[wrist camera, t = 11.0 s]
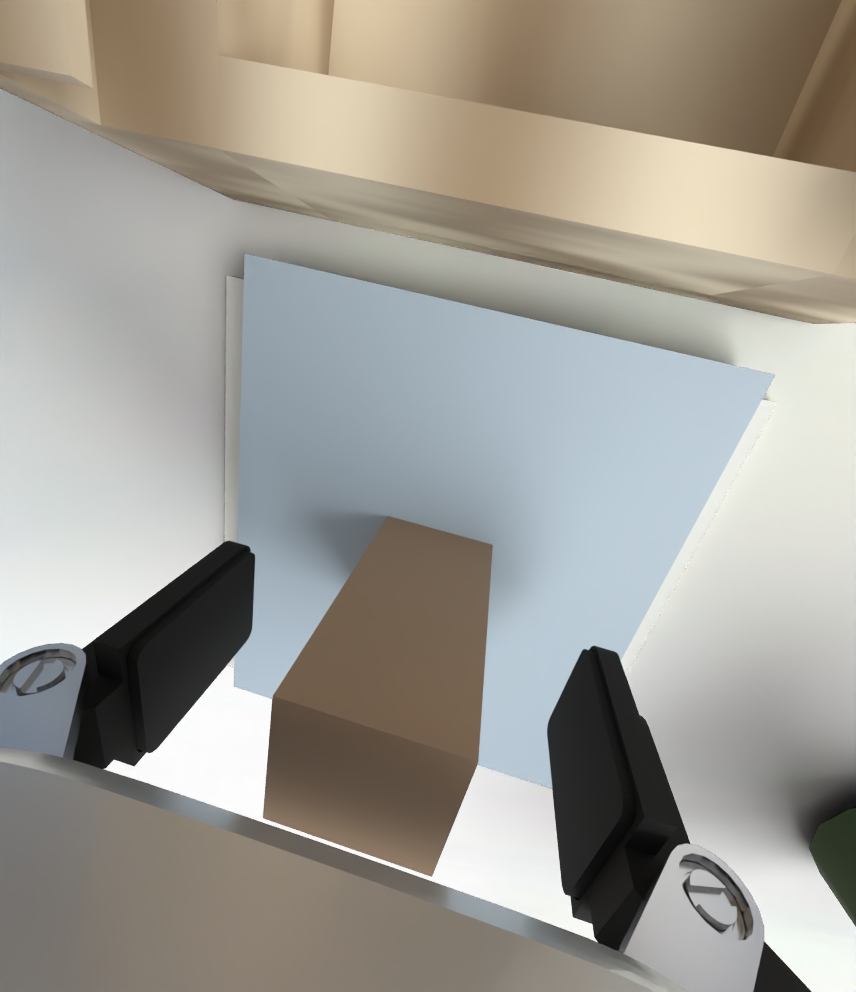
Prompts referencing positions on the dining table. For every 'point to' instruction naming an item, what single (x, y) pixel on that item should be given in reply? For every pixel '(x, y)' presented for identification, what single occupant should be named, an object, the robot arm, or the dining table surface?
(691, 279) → the wooden tray
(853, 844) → the character mug
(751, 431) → the felt mat
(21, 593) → the dining table surface
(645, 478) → the lid
